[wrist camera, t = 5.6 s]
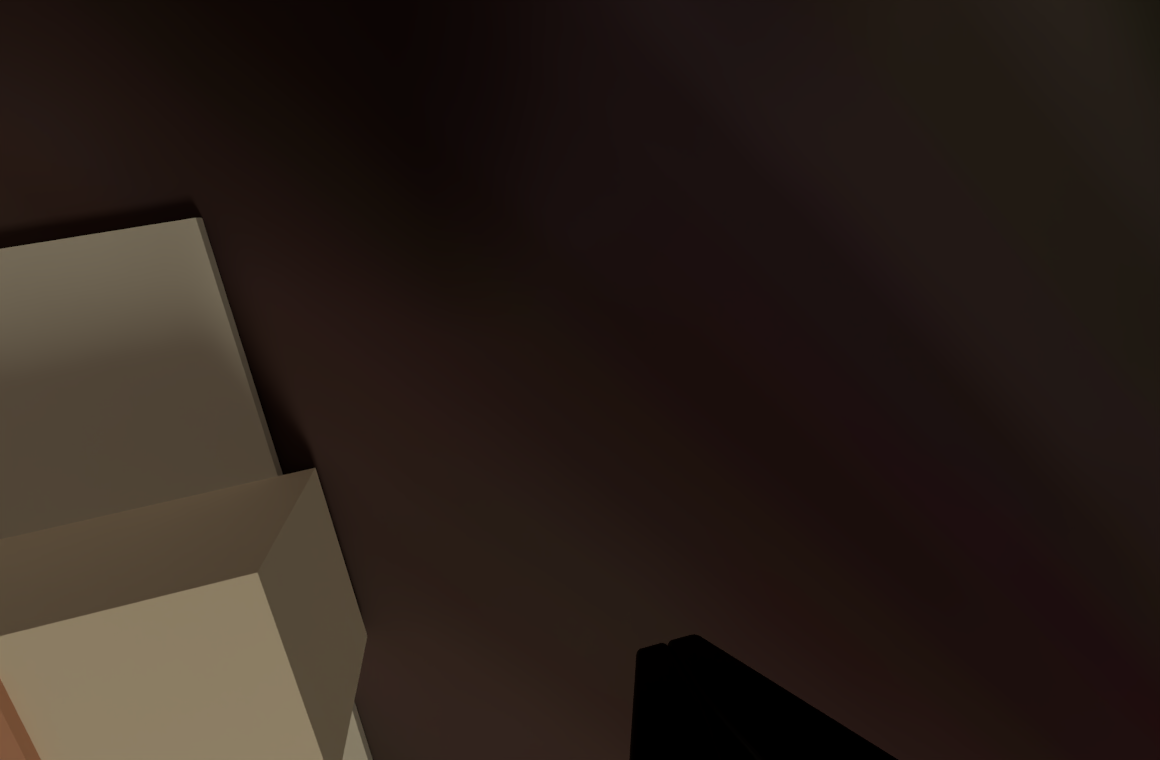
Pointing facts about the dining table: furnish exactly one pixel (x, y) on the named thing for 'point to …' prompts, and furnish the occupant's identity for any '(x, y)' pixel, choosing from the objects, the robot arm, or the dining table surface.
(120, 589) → the block
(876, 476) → the dining table surface
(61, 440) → the mat
